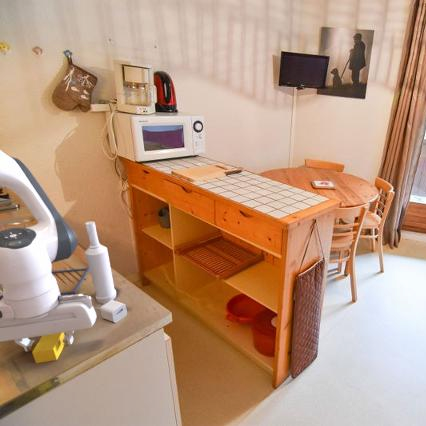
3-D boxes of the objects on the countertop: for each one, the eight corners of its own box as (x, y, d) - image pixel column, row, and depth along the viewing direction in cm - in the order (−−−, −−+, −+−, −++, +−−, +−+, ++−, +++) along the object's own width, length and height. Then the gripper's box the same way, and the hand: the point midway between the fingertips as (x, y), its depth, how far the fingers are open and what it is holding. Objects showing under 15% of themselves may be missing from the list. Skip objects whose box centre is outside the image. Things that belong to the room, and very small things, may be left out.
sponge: (57, 360, 74) (53, 348, 73) (36, 363, 73) (31, 352, 71) (66, 341, 79) (63, 330, 78) (47, 344, 78) (43, 333, 77)
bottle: (118, 291, 98) (103, 218, 88) (115, 302, 93) (99, 226, 84) (98, 294, 96) (81, 219, 86) (94, 305, 92) (75, 227, 82)
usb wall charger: (114, 323, 86) (112, 311, 84) (95, 316, 88) (92, 304, 86) (127, 314, 89) (125, 303, 88) (108, 307, 91) (106, 296, 90)
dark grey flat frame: (29, 302, 90) (27, 297, 90) (49, 276, 102) (47, 271, 101) (76, 297, 94) (74, 291, 93) (90, 272, 105) (89, 267, 105)
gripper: (93, 284, 76) (104, 329, 81) (-16, 296, 70) (4, 344, 75) (85, 301, 71) (97, 347, 76) (-34, 315, 64) (-12, 365, 69)
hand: (50, 346), depth 75 cm, fingers open, 6 cm apart
